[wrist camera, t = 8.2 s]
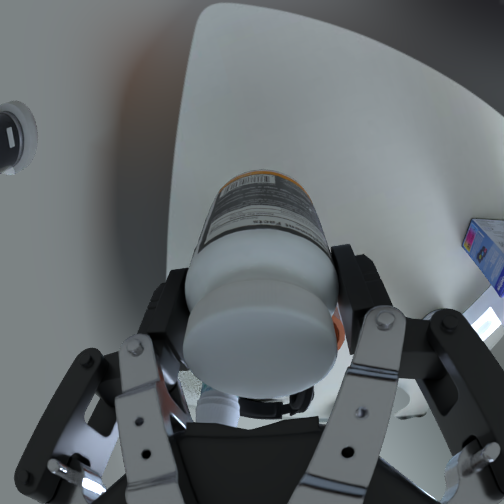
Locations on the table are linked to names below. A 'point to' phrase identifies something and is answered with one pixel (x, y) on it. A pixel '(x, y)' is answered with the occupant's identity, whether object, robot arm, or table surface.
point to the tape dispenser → (486, 313)
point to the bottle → (217, 407)
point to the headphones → (276, 406)
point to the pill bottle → (261, 291)
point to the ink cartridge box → (487, 250)
